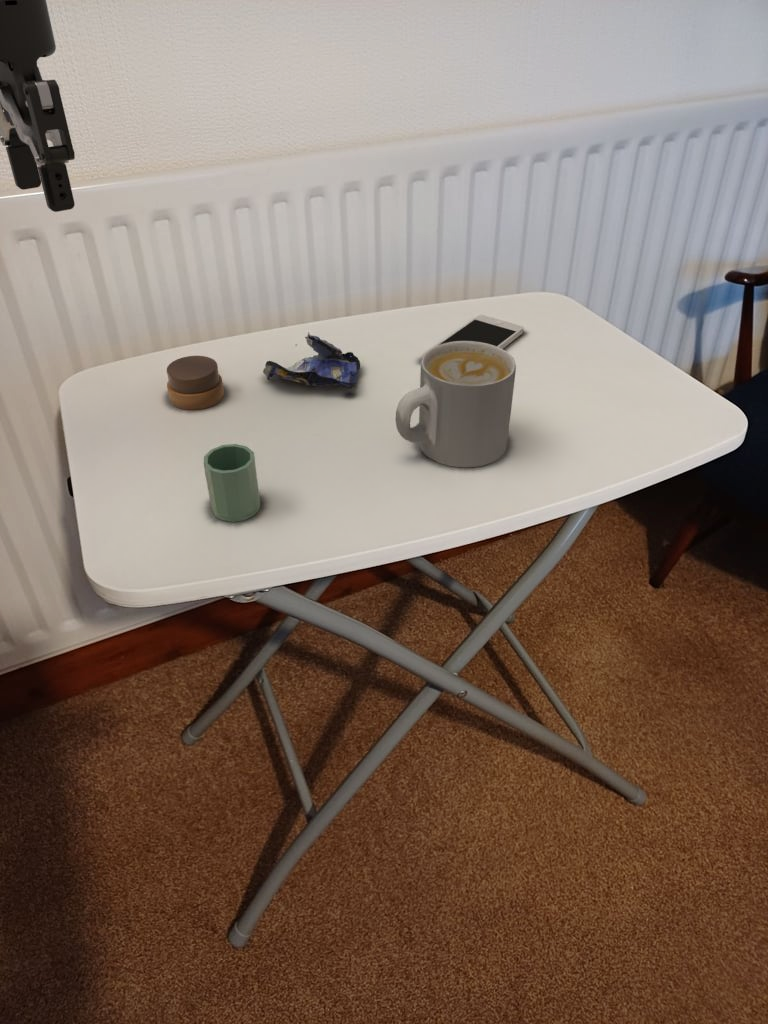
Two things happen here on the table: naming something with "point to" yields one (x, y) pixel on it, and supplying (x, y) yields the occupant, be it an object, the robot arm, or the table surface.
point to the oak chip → (197, 397)
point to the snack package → (319, 366)
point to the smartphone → (486, 332)
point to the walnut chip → (193, 374)
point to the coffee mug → (461, 404)
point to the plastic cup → (232, 482)
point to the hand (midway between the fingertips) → (45, 198)
